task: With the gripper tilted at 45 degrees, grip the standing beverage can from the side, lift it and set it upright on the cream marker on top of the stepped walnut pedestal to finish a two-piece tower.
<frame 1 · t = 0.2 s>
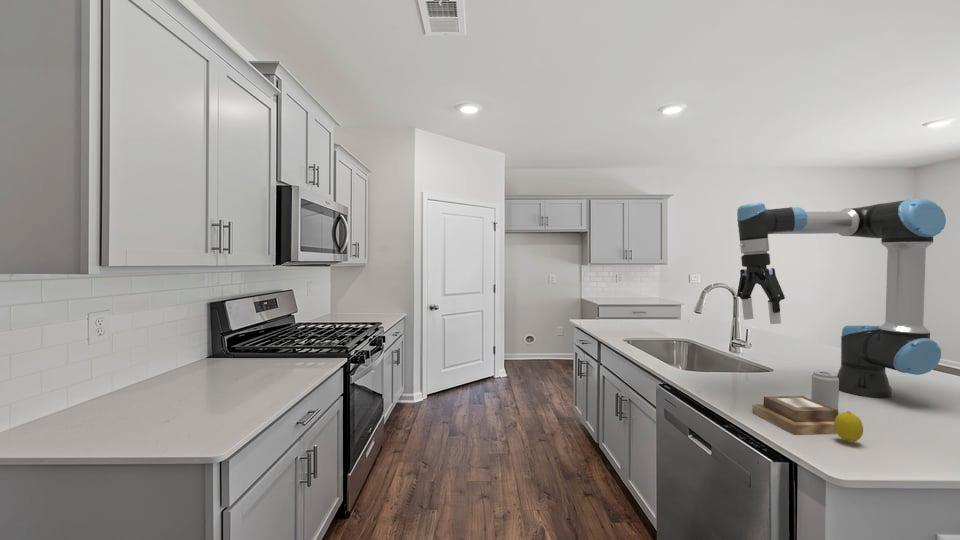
hand: (761, 321, 134), 27 cm above the worktop, tool pointing down, fingers open, 13 cm apart
lemon: (848, 443, 108), on the worktop
beverage can: (824, 413, 130), on the worktop
pedestal: (798, 422, 122), on the worktop
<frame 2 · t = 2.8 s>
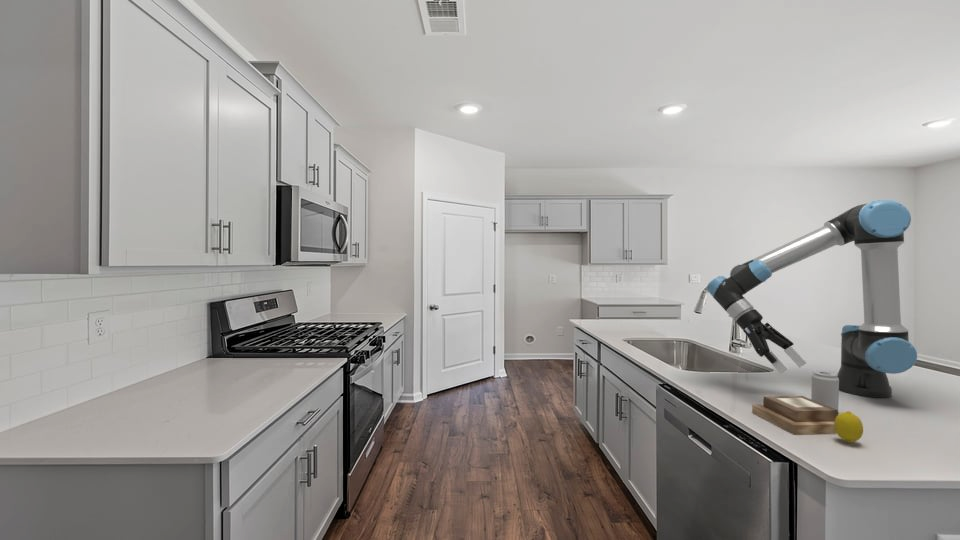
hand: (794, 368, 136), 12 cm above the worktop, tool tilted 45°, fingers open, 13 cm apart
nothing on the worktop moved.
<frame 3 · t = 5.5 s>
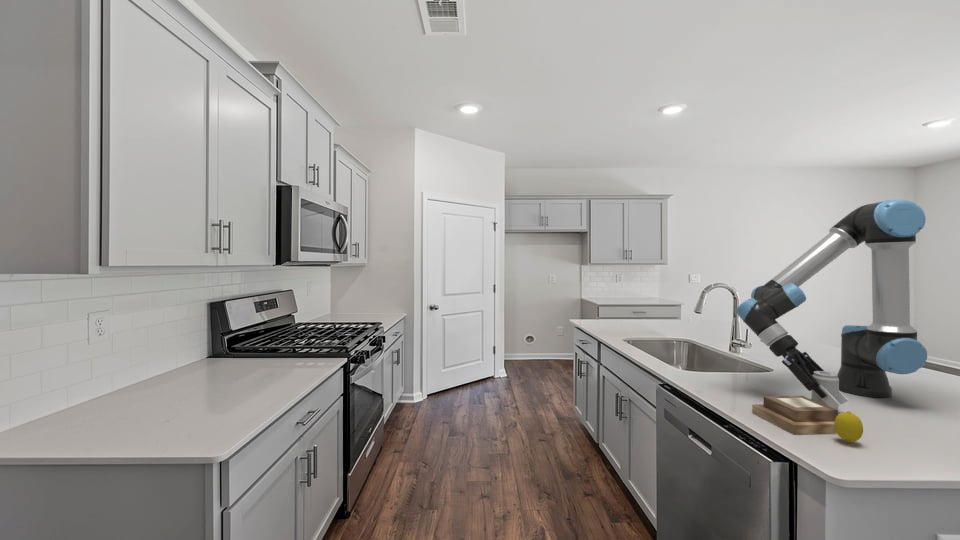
hand: (839, 404, 127), 3 cm above the worktop, tool tilted 45°, fingers closed on beverage can, 6 cm apart
beverage can: (824, 413, 130), on the worktop, touching gripper
everything else where it was.
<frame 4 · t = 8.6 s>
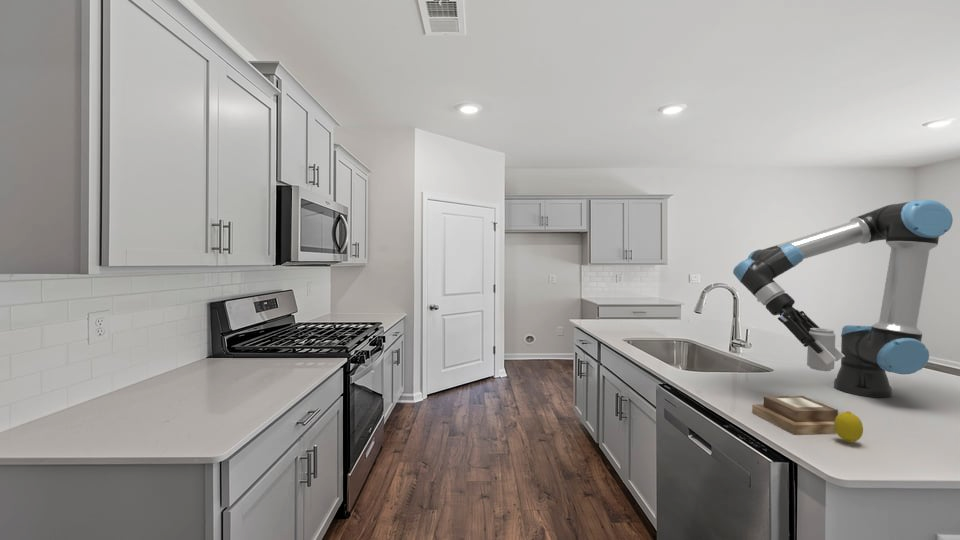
hand: (835, 360, 126), 17 cm above the worktop, tool tilted 45°, fingers closed on beverage can, 6 cm apart
beverage can: (820, 369, 129), point 13 cm above the worktop, touching gripper
everything else where it was.
when the fingers open (10 cm above the worktop, at t = 11.7 s): beverage can stays where it is, resting on pedestal.
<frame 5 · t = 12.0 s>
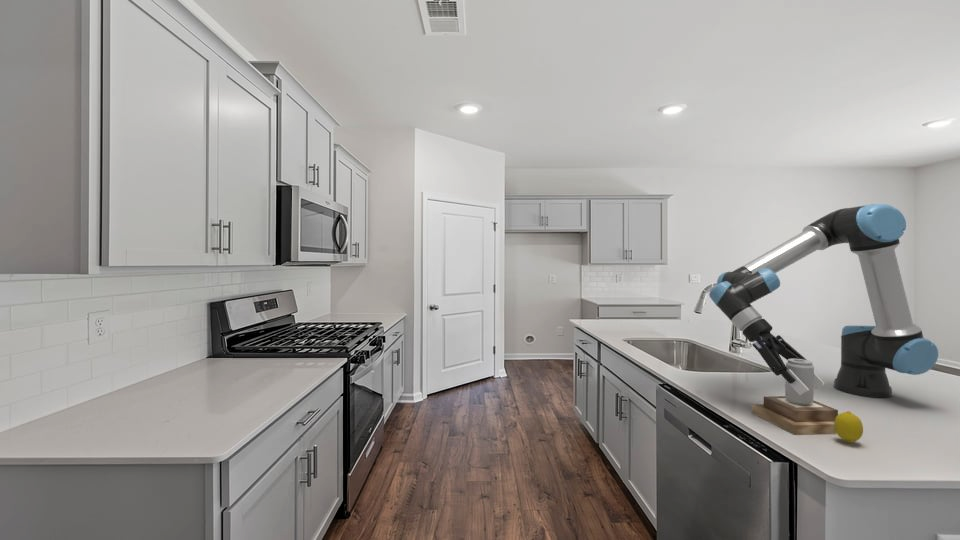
hand: (812, 389, 119), 10 cm above the worktop, tool tilted 45°, fingers open, 10 cm apart
beverage can: (798, 403, 122), point 6 cm above the worktop, touching pedestal
everything else where it was.
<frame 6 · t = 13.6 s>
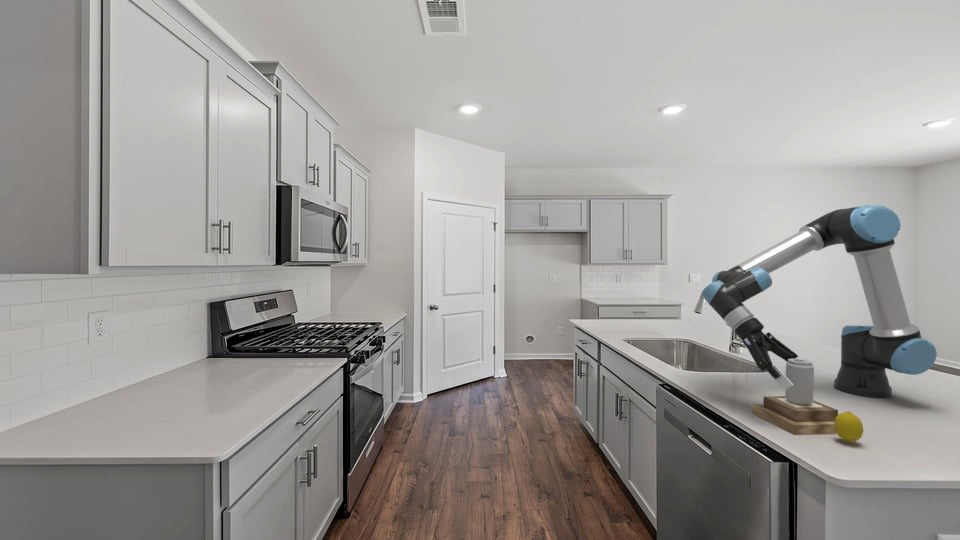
hand: (799, 383, 121), 11 cm above the worktop, tool tilted 45°, fingers open, 13 cm apart
nothing on the worktop moved.
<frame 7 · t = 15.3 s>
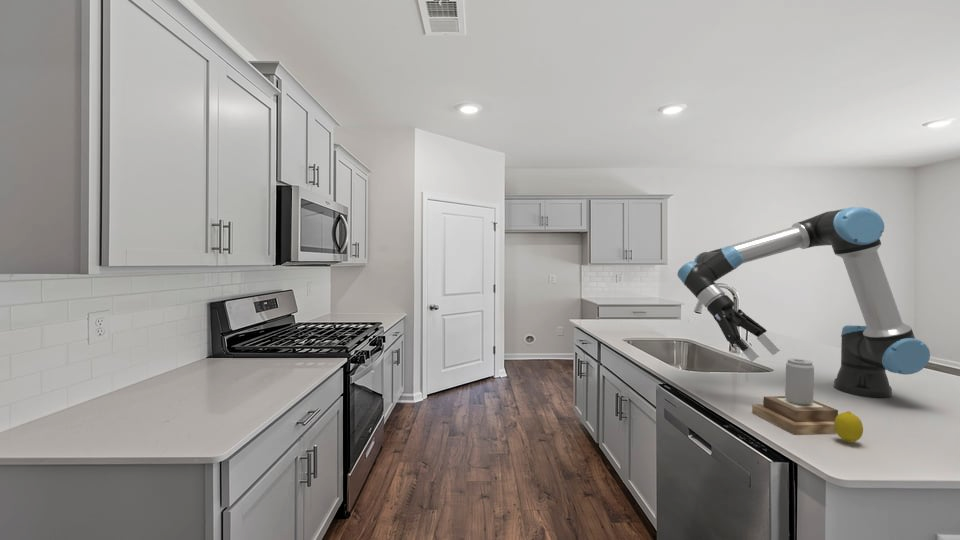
hand: (766, 355, 128), 17 cm above the worktop, tool tilted 45°, fingers open, 13 cm apart
nothing on the worktop moved.
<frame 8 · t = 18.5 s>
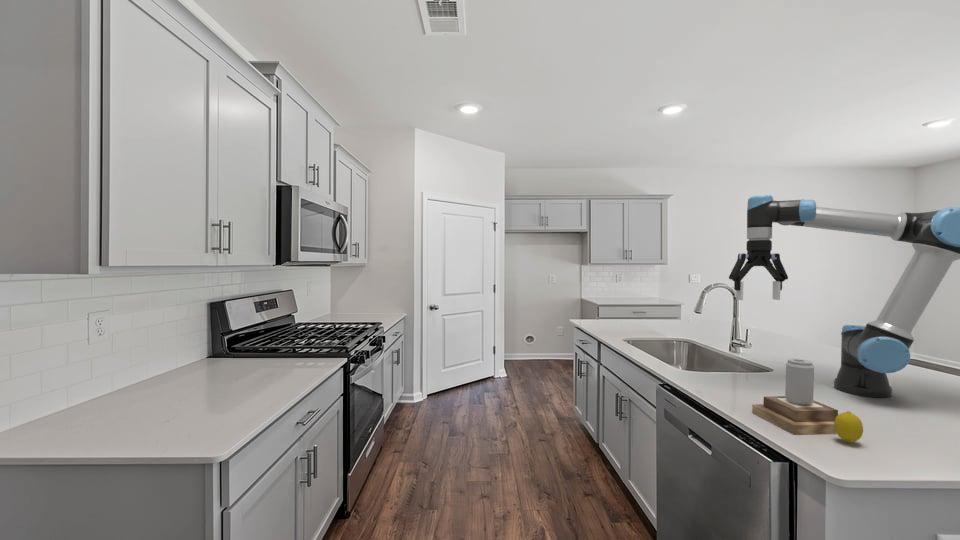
hand: (757, 299, 152), 32 cm above the worktop, tool pointing down, fingers open, 13 cm apart
nothing on the worktop moved.
at the end: beverage can inside the target area on the pedestal (0.1 cm from its centre), point 5.5 cm above the pedestal's base; beverage can tilted 0°; the gripper is holding nothing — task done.
